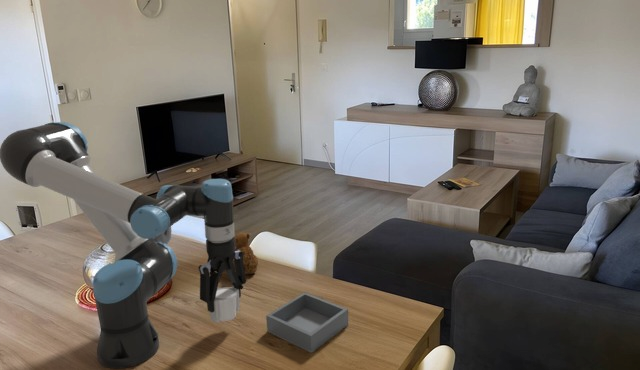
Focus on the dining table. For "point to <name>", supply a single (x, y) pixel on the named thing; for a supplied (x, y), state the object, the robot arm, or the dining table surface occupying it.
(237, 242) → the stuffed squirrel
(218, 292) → the white cup
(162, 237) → the wine glass
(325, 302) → the charcoal bin
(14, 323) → the dining table surface
